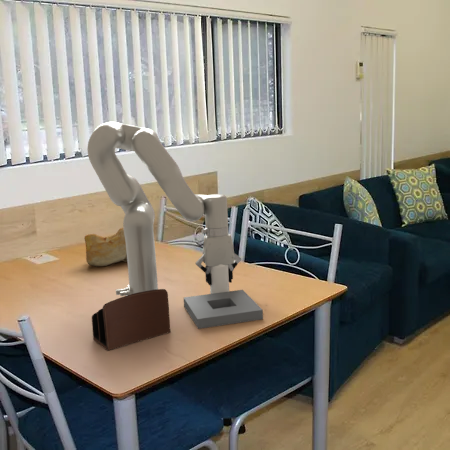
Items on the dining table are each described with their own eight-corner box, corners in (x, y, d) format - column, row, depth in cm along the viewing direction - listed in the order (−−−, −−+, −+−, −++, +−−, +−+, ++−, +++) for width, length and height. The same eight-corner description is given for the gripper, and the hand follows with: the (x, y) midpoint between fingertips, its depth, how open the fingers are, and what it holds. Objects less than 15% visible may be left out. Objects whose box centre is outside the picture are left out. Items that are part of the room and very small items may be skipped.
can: (227, 297, 195) (225, 263, 192) (208, 296, 196) (206, 262, 193) (231, 291, 201) (229, 257, 198) (212, 290, 202) (211, 257, 200)
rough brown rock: (136, 254, 257) (131, 221, 254) (145, 260, 241) (140, 225, 239) (83, 264, 249) (78, 229, 246) (88, 270, 233) (83, 234, 231)
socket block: (198, 328, 169) (197, 319, 169) (184, 306, 188) (183, 297, 188) (262, 319, 175) (262, 309, 174) (242, 298, 193) (242, 289, 193)
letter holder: (171, 332, 168) (168, 286, 165) (107, 351, 157) (102, 302, 154) (154, 322, 176) (151, 278, 173) (93, 340, 165) (88, 293, 162)
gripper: (194, 236, 188) (197, 289, 192) (245, 231, 192) (247, 282, 196) (189, 231, 195) (192, 282, 199) (238, 226, 199) (240, 276, 203)
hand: (219, 282), depth 198 cm, fingers closed on can, 6 cm apart
